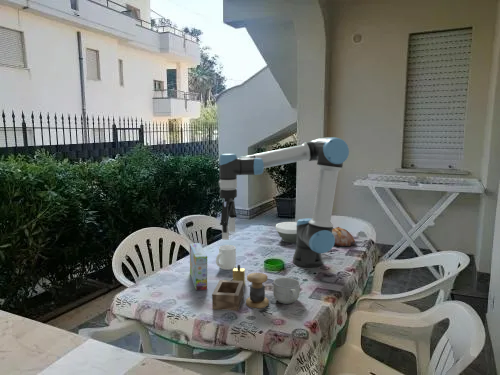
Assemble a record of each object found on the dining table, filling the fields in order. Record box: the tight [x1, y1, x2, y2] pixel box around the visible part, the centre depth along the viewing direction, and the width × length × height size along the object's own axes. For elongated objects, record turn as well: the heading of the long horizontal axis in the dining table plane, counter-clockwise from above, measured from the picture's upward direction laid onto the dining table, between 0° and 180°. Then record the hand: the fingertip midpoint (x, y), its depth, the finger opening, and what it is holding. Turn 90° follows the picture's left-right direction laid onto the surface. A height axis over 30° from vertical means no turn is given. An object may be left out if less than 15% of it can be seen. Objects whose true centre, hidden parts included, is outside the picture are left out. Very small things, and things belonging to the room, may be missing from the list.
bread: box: [332, 226, 356, 247], centre depth 223 cm, size 16×20×10 cm
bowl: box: [275, 221, 297, 244], centre depth 228 cm, size 20×20×10 cm
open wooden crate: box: [211, 279, 245, 312], centre depth 145 cm, size 10×14×6 cm
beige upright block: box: [232, 264, 246, 286], centre depth 161 cm, size 5×3×9 cm, turn 83°
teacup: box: [272, 276, 302, 305], centre depth 144 cm, size 14×11×8 cm
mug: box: [215, 244, 237, 271], centre depth 181 cm, size 12×8×10 cm
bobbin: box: [245, 272, 270, 310], centre depth 143 cm, size 9×9×11 cm
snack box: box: [189, 242, 208, 291], centre depth 165 cm, size 21×6×15 cm, turn 17°
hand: (228, 235), depth 165 cm, fingers open, 13 cm apart
